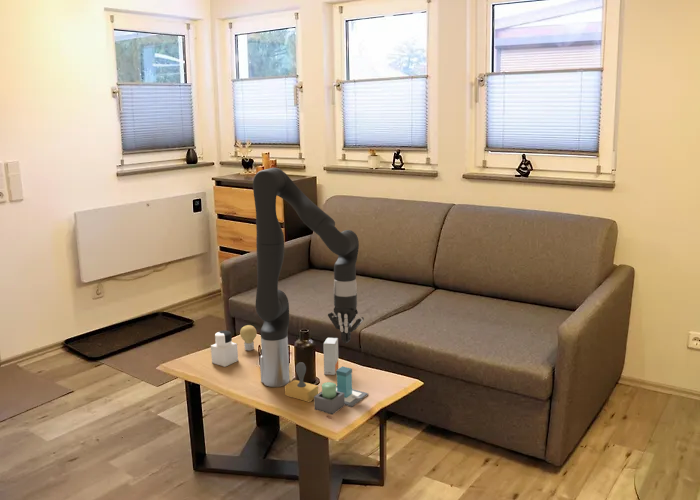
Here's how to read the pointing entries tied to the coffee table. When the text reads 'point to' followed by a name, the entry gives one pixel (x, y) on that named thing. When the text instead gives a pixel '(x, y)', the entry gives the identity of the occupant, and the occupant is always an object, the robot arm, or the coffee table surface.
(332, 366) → the skincare box
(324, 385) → the button
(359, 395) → the clipboard
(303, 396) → the rubber stamp
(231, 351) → the medicine bottle
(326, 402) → the button housing
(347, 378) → the teal lidded box
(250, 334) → the light bulb
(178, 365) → the coffee table surface
